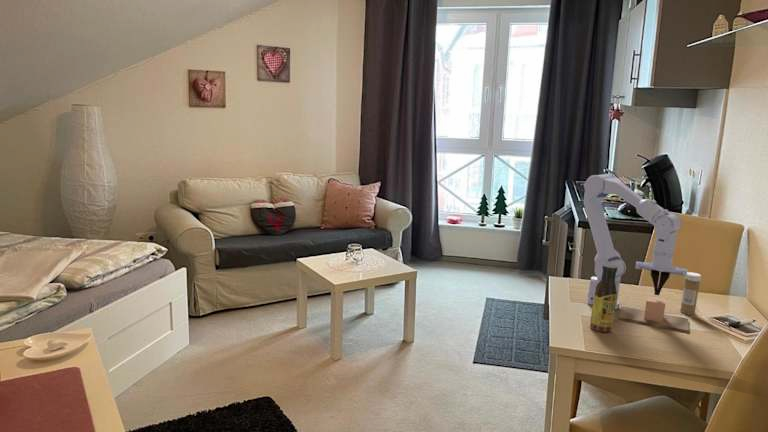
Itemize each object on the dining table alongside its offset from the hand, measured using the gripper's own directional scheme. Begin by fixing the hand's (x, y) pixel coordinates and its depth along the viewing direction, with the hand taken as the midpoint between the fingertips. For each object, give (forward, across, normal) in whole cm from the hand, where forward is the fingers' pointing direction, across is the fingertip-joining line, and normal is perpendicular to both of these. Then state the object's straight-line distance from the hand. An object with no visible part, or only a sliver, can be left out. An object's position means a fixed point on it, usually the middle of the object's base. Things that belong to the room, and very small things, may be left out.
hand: (656, 294), depth 186 cm
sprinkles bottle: (+9, +10, +14) cm, 19 cm away
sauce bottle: (+9, -14, -17) cm, 24 cm away
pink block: (+8, 0, 0) cm, 8 cm away
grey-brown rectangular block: (+9, 0, 0) cm, 9 cm away
